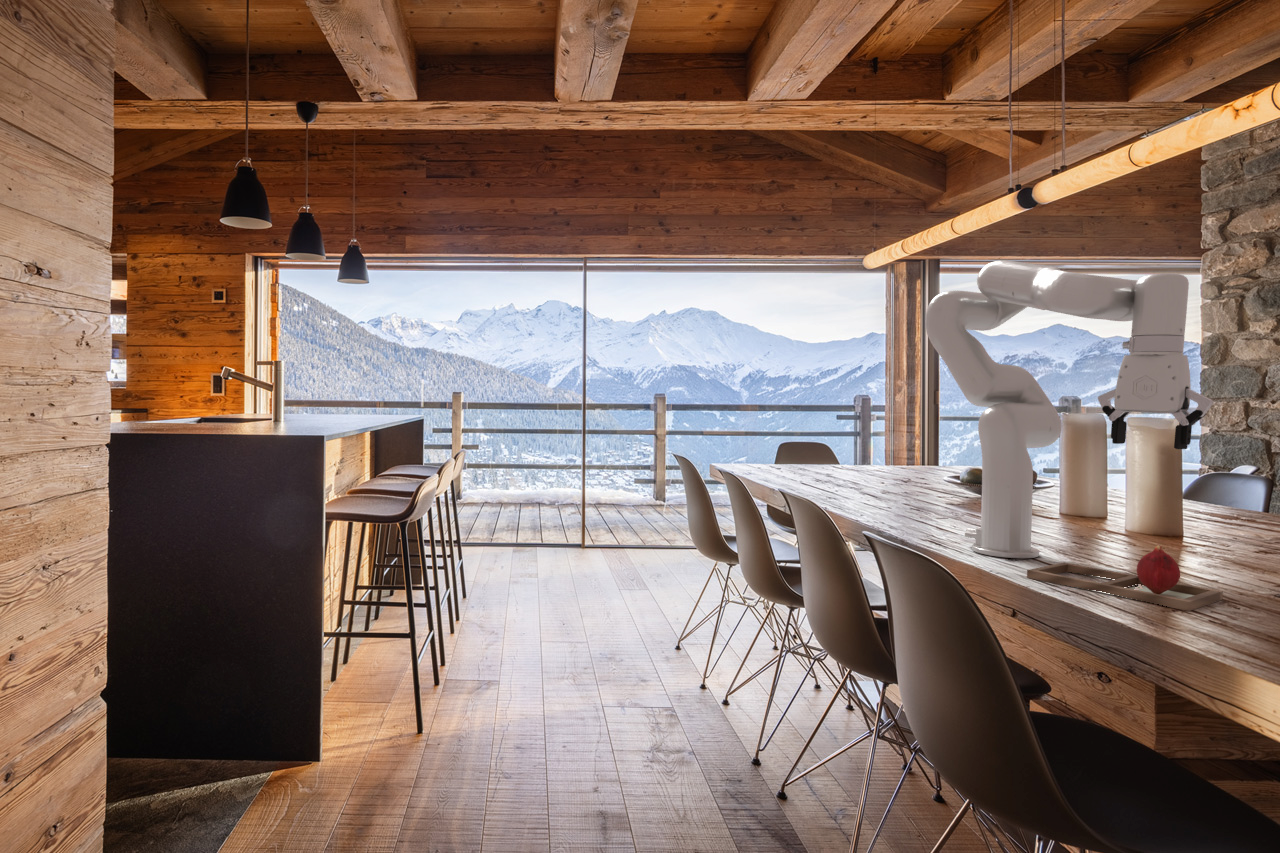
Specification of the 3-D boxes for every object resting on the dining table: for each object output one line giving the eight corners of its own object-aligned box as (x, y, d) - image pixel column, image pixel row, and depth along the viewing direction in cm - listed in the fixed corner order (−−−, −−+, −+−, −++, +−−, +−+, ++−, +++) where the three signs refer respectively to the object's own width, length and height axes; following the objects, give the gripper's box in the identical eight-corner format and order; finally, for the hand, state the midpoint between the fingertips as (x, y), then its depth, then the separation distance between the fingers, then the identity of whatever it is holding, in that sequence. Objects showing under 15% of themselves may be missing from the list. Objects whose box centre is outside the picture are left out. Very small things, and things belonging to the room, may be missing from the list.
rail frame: (1026, 577, 130) (1027, 569, 130) (1063, 569, 137) (1064, 562, 137) (1188, 611, 109) (1189, 601, 109) (1222, 599, 116) (1222, 591, 116)
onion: (1186, 600, 115) (1188, 550, 115) (1146, 597, 116) (1148, 548, 116) (1167, 591, 121) (1169, 543, 120) (1129, 588, 122) (1131, 541, 122)
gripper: (1092, 347, 130) (1085, 441, 131) (1206, 345, 115) (1196, 451, 117) (1113, 349, 134) (1106, 441, 135) (1226, 347, 119) (1217, 450, 120)
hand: (1148, 446), depth 126 cm, fingers open, 9 cm apart
